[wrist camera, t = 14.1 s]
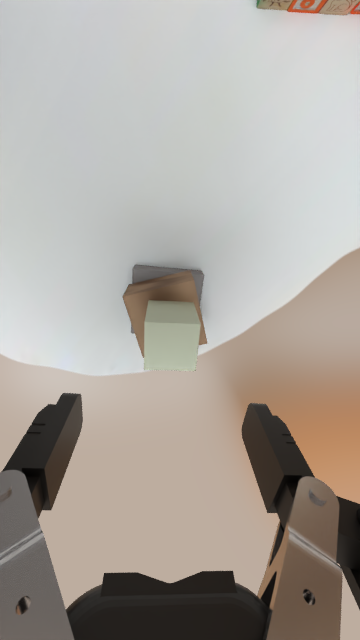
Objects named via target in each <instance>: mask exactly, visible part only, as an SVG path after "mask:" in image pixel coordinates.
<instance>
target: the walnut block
mask: <svg viewBox="0 0 360 640" xmlns="http://www.w3.org/2000/svg"><path fill="white" fill-rule="evenodd" d="M123 300H124V303H125V306H126V309H127V312H128V315H129V317H130V320H131V323H132V326H133V329H134V332H135V335H136V338H137V341H138V344H139V347H140V350H141V353H142V356H143V358H144V322H145V317H146V311H147V306H148V301H149V300H154V301H177V302H194V305H195V308H196V311H197V314H198V317H199V321H200V324H201V326H200V335H199V345H202V344H207V339H206V334H205V330H204V325H203V320H202V315H201V311H200V306H199V301H198V296H197V291H196V287H195V282H194V279H193V276H192V274H191V271H190V270H188V271H184V272H180V273H176V274H171V275H167V276H163V277H159V278H155V279H150V280H146V281H142V282H138V283H134V284H129V285H128V287H127V289H126V291H125V293H124V295H123Z"/></svg>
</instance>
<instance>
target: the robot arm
mask: <svg viewBox="0 0 360 640" xmlns="http://www.w3.org/2000/svg"><path fill="white" fill-rule="evenodd" d="M82 421H83V417H82V401H81V394H73V393H72V394H71V393H63V394H62V395H61V397H60V399H59V400H58V402H57V404H56V405H52V404H48V406H46V407H45V408H44V409H42V410H41V411H40V412H39V413H38V414H37V416H36V417H35V419H34V421H33V422H32V425H31V426H30V427H29V429H28V430H27V433H26V434H25V435H24V437H23V439H22V440H21V442H20V443H19V445H18V447H17V448H16V450H15V452H14V453H13V455H12V457H11V458H10V460H9V461H8V463H7V465H6V466H5V468H4V469H3V471H2V472H1V473H0V640H340V624H341V599H342V571H343V573H344V575H345V578H346V580H347V582H348V585H349V587H350V589H351V591H352V594H353V596H354V598H355V600H356V602H357V605H358V607H359V609H360V504H358V503H355V502H352V501H349V500H346V499H343V498H340V497H338V496H336V495H335V494H334V492H333V491H332V490H331V489H330V487H328V486H327V485H326V484H325V483H324V482H322V481H320V480H319V479H317V478H315V477H314V475H313V473H312V471H311V469H310V468H309V466H308V464H307V462H306V461H305V459H304V457H303V455H302V453H301V451H300V450H299V448H298V446H297V445H296V442H295V441H294V439H293V437H292V436H291V433H290V431H289V430H288V428H287V426H286V424H285V423H284V422H283V421H282V420H281V419H280V418H278V416H272V414H271V412H270V410H269V408H268V406H267V405H266V404H255V403H250V404H249V405H248V408H247V412H246V415H245V418H244V422H243V425H242V438H243V441H244V444H245V447H246V450H247V453H248V456H249V459H250V462H251V465H252V468H253V471H254V474H255V477H256V480H257V483H258V486H259V489H260V492H261V495H262V498H263V501H264V504H265V507H266V510H267V513H277V514H278V516H279V519H280V521H279V524H278V527H277V531H276V535H275V538H274V542H273V546H272V549H271V553H270V557H269V561H268V564H267V568H266V571H265V575H264V578H263V580H262V583H261V586H260V588H259V591H258V595H257V596H256V595H255V594H254V593H253V592H251V591H250V590H249V589H247V588H245V587H243V586H242V585H240V584H238V583H235V580H234V575H233V571H202V572H200V573H197V574H195V575H192V576H189V577H187V578H185V579H182V580H180V581H177V582H174V583H166V582H163V581H159V580H157V579H154V578H151V577H148V576H146V575H143V574H140V573H104V577H103V584H102V585H99V586H97V587H95V588H93V589H91V590H89V591H87V592H86V593H84V594H83V595H82V596H80V597H79V598H78V599H77V600H75V601H74V602H73V603H72V604H71V605H70V606H69V607H68V608H67V609H65V606H64V603H63V600H62V596H61V593H60V589H59V586H58V582H57V579H56V576H55V572H54V569H53V565H52V562H51V558H50V555H49V551H48V548H47V545H46V541H45V538H44V535H43V532H42V531H41V528H40V524H39V521H38V518H39V516H40V513H41V511H42V510H51V509H52V507H53V504H54V501H55V499H56V496H57V493H58V490H59V488H60V485H61V483H62V480H63V477H64V474H65V472H66V469H67V467H68V464H69V461H70V459H71V456H72V453H73V450H74V448H75V445H76V442H77V440H78V437H79V434H80V432H81V428H82ZM337 563H339V564H340V566H339V565H337Z"/></svg>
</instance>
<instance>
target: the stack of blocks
mask: <svg viewBox="0 0 360 640" xmlns="http://www.w3.org/2000/svg"><path fill="white" fill-rule="evenodd" d="M257 8H258V9H274V10H287V11H288V12H301V13H319V14H332V15H347V14H350V13H351V14H360V0H257Z"/></svg>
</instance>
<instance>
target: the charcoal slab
mask: <svg viewBox="0 0 360 640" xmlns="http://www.w3.org/2000/svg"><path fill="white" fill-rule="evenodd" d="M184 271H188V270H187V269H176V268H165V267H154V266H143V265H135V266H134V268H133V283H132V284H134V283H138V282H142V281H146V280H150V279H155V278H159V277H163V276H167V275H171V274H176V273H180V272H184ZM190 271H191V274H192V276H193V279H194V282H195V287H196V291H197V296H198V301H199V306H200V300H201V293H202V286H203V279H204V274H203V272H202V271H198V270H190ZM131 333H135V332H134V329H133V326H132V323H131Z"/></svg>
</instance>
